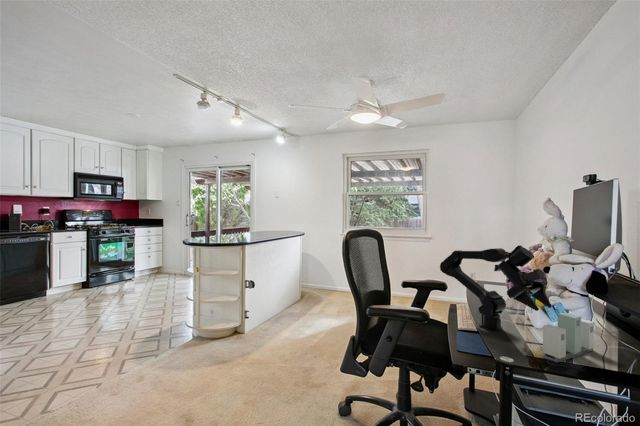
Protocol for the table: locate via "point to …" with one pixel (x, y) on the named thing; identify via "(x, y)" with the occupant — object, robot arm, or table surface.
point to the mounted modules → (557, 338)
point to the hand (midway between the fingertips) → (544, 308)
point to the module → (571, 331)
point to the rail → (567, 355)
